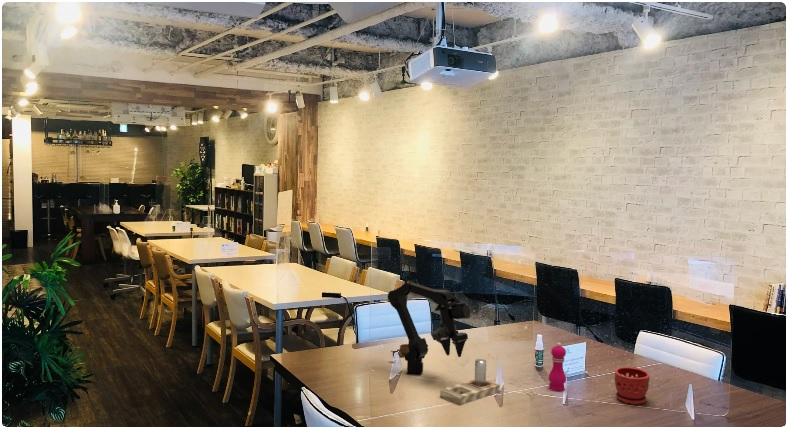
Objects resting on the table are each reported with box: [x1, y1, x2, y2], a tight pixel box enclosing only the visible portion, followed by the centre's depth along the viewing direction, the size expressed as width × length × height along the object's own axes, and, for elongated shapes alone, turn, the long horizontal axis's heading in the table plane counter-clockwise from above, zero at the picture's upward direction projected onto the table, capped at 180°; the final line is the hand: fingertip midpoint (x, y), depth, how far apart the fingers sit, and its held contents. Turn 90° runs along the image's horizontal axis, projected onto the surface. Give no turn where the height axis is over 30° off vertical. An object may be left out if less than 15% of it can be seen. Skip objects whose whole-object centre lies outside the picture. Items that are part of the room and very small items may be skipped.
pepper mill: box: [548, 342, 567, 392], centre depth 267 cm, size 7×7×20 cm
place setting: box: [392, 343, 409, 358], centre depth 308 cm, size 18×20×6 cm
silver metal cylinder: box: [474, 358, 487, 387], centre depth 262 cm, size 5×5×13 cm
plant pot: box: [614, 366, 650, 405], centre depth 256 cm, size 13×13×12 cm
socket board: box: [439, 378, 501, 406], centre depth 258 cm, size 24×11×3 cm, turn 131°
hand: (453, 356), depth 271 cm, fingers open, 9 cm apart
